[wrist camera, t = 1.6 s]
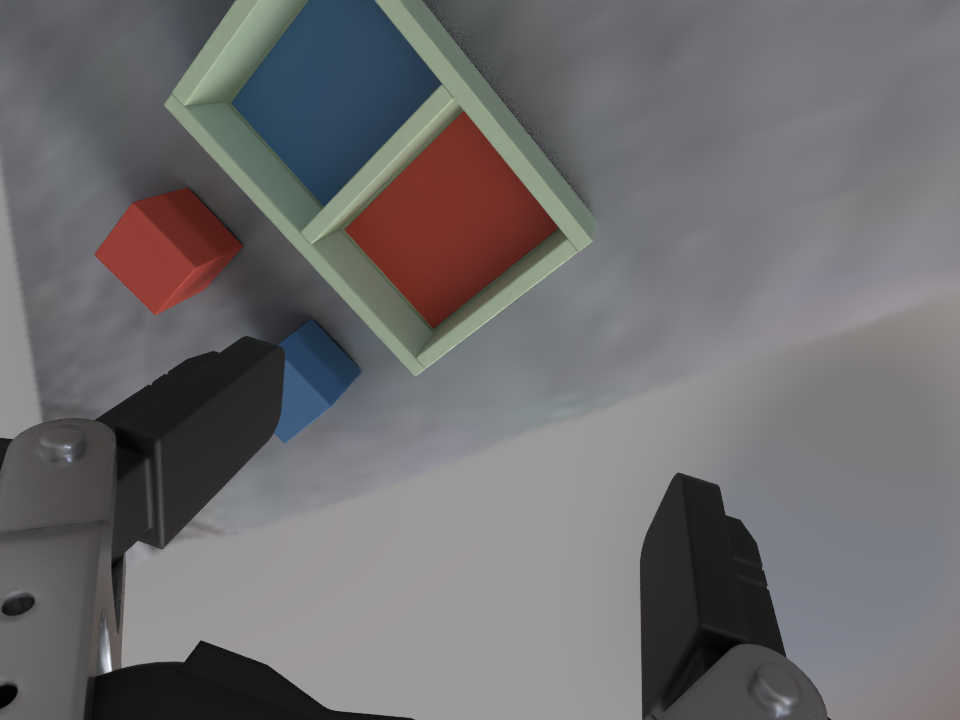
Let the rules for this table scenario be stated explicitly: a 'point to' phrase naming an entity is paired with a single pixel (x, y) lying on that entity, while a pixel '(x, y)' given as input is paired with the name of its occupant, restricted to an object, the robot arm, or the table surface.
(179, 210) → the red block
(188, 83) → the sorting tray
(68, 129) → the table surface
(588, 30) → the table surface
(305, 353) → the blue block
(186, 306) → the table surface
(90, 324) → the table surface
